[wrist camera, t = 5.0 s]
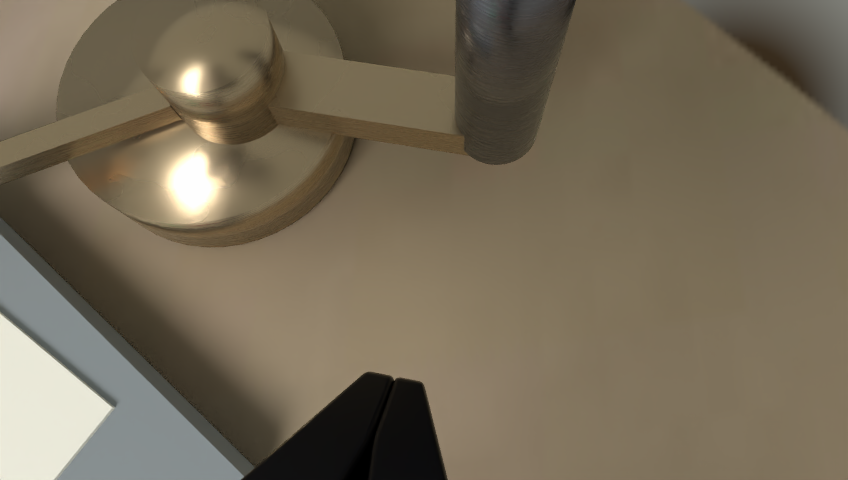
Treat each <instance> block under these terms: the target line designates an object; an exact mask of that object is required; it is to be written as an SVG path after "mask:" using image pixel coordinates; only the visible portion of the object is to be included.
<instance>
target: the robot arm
mask: <svg viewBox="0 0 848 480" xmlns="http://www.w3.org/2000/svg"><path fill="white" fill-rule="evenodd" d="M241 480H448V479H447V475H446V471H445V467H444V463H443V459H442V455H441V451H440V447H439V443H438V439H437V435H436V431H435V427H434V423H433V419H432V415H431V411H430V407H429V402H428V398H427V394H426V390H425V387H424V385H423V383H422V382H420V381H415V380H410V379H405V378H396V379H395V381H394V379H393V377H392V376H390V375H385V374H379V373H374V372H366V373H364V374H363V375H362V376H361V377H359V378H358V379H357V380H356V381H355V382H354V383H352V384H351V385H350V386H349V387H348V388H347V389H345V390H344V391H343V392H342V393H341V394H340V395H338V396H337V397H336V398H335V399H334V400H333V401H332V402H330V403H329V404H328V405H327V406H326V407H325V408H323V409H322V410H321V411H320V412H319V413H318V414H316V415H315V416H314V417H313V418H312V419H311V420H309V421H308V422H307V423H306V424H305V425H304V426H302V427H301V428H300V429H299V430H298V431H297V432H296V433H294V434H293V435H292V436H291V437H290V438H289V439H287V440H286V441H285V442H284V443H283V444H282V445H280V446H279V447H278V448H277V449H276V450H275V451H273V452H272V453H271V454H270V455H269V456H268V457H266V458H265V459H264V460H263V461H262V462H261V463H260V464H258V465H257V466H256V467H255V468H254V469H253V470H251V471H250V472H249V473H248V474H247V475H246V476H244V477H243V478H242V479H241Z"/></svg>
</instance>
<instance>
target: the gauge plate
mask: <svg viewBox="0 0 848 480" xmlns="http://www.w3.org/2000/svg"><path fill="white" fill-rule="evenodd" d="M254 468H255V467H254V466H253V465H252V464H251V463H250V462H249V461H248V460H247V459H246V458H245V457H244V456H243V455H242V454H241V453H240V452H239V451H238V450H237V449H236V448H235V447H234V446H233V445H232V444H230V443H229V442H228V441H227V440H226V439H225V438H224V437H223V436H222V435H221V434H220V433H219V432H218V431H217V430H216V429H215V428H214V427H213V426H212V425H211V424H210V423H209V422H208V421H207V420H206V419H205V418H204V417H203V416H202V415H201V414H200V413H199V412H198V411H197V410H196V409H195V408H194V407H193V406H192V405H191V404H190V403H189V402H188V401H187V400H186V399H185V398H184V397H183V396H182V395H181V394H180V393H179V392H178V391H177V390H176V389H175V388H174V387H173V386H171V385H170V384H169V383H168V382H167V381H166V380H165V379H164V378H163V377H162V376H161V375H160V374H159V373H158V372H157V371H156V370H155V369H154V368H153V367H152V366H151V365H150V364H149V363H148V362H147V361H146V360H145V359H144V358H143V357H142V356H141V355H140V354H139V353H138V352H137V351H136V350H135V349H134V348H133V347H132V346H131V345H130V344H129V343H128V342H127V341H126V340H125V339H124V338H123V337H122V336H121V335H120V334H119V333H118V332H117V331H116V330H115V329H114V328H113V327H111V326H110V325H109V324H108V323H107V322H106V321H105V320H104V319H103V318H102V317H101V316H100V315H99V314H98V313H97V312H96V311H95V310H94V309H93V308H92V307H91V306H90V305H89V304H88V303H87V302H86V301H85V300H84V299H83V298H82V297H81V296H80V295H79V294H78V293H77V292H76V291H75V290H74V289H73V288H72V287H71V286H70V285H69V284H68V283H67V282H66V281H65V280H64V279H63V278H62V277H61V276H60V275H59V274H58V273H57V272H56V271H55V270H54V269H52V268H51V267H50V266H49V265H48V264H47V263H46V262H45V261H44V260H43V259H42V258H41V257H40V256H39V255H38V254H37V253H36V252H35V251H34V250H33V249H32V248H31V247H30V246H29V245H28V244H27V243H26V242H25V241H24V240H23V239H22V238H21V237H20V236H19V235H18V234H17V233H16V232H15V231H14V230H13V229H12V228H11V227H10V226H9V225H8V224H7V223H6V222H5V221H4V220H3V219H2V218H1V217H0V480H241V479H242V478H243V477H244V476H246V475H247V474H248V473H249V472H250V471H251V470H253V469H254Z"/></svg>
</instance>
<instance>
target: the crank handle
mask: <svg viewBox="0 0 848 480" xmlns="http://www.w3.org/2000/svg"><path fill="white" fill-rule="evenodd" d="M575 1H576V0H456V39H455V76H451V75H444V74H438V73H431V72H424V71H417V70H410V69H404V68H397V67H390V66H383V65H376V64H370V63H363V62H356V61H349V60H344V58H343V54H342V51H341V47H340V44H339V41H338V39H337V36H336V34H335V32H334V29H333V27H332V26H331V24H330V22H329V21H328V19H327V18H326V16H325V15H324V13H323V12H322V11H321V10H320V9H319V7H318V6H317V5H316V4H315V3H314V2H313V1H312V0H117V1H116V2H115V3H113V4H112V5H111V6H109V7H108V8H107V9H106V10H105V11H104V12H103V13H102V14H101V15H100V16H99V17H98V18H97V19H96V20H95V21H94V22H93V23H92V24H91V25H90V27H89V28H88V29H87V30H86V31H85V33H84V34H83V35H82V37H81V38H80V40H79V41H78V43H77V45H76V46H75V48H74V49H73V51H72V53H71V55H70V57H69V59H68V61H67V64H66V66H65V69H64V72H63V75H62V78H61V81H60V85H59V91H58V96H57V111H56V117H57V122H54V123H51V124H48V125H45V126H43V127H40V128H37V129H34V130H31V131H29V132H26V133H23V134H20V135H17V136H15V137H12V138H9V139H6V140H3V141H0V185H1V184H4V183H7V182H9V181H12V180H15V179H18V178H21V177H23V176H26V175H29V174H32V173H34V172H37V171H40V170H43V169H46V168H48V167H51V166H54V165H57V164H59V163H62V162H65V161H68V162H69V164H70V165H71V167H72V168H73V170H74V171H75V173H76V174H77V176H78V177H79V178H80V179H81V181H82V182H83V183H84V184H85V185H86V186H87V187H88V188H89V189H90V190H91V191H92V192H93V193H94V194H96V195H97V196H98V197H99V198H101V199H102V200H103V201H105V202H106V203H108V204H109V205H111V206H112V207H114V208H115V209H117V210H118V211H120V212H121V213H123V214H124V215H126V216H127V217H129V218H130V219H132V220H133V221H135V222H136V223H138V224H139V225H141V226H143V227H144V228H146V229H148V230H149V231H151V232H153V233H154V234H156V235H159V236H161V237H163V238H166V239H168V240H171V241H174V242H178V243H182V244H186V245H192V246H201V247H226V246H233V245H240V244H244V243H248V242H252V241H255V240H259V239H262V238H264V237H267V236H269V235H272V234H274V233H276V232H278V231H280V230H282V229H284V228H286V227H287V226H289V225H291V224H293V223H294V222H295V221H297V220H298V219H300V218H301V217H302V216H304V215H305V214H307V213H308V212H309V211H310V210H311V209H312V208H313V207H314V206H315V205H316V204H318V203H319V202H320V201H321V200H322V198H323V197H324V196H325V195H326V194H327V192H328V191H329V190H330V189H331V188H332V186H333V185H334V183H335V182H336V180H337V179H338V177H339V175H340V174H341V172H342V170H343V168H344V166H345V164H346V162H347V160H348V157H349V154H350V151H351V148H352V145H353V141H354V137H355V138H362V139H368V140H374V141H380V142H387V143H393V144H399V145H406V146H412V147H418V148H425V149H431V150H437V151H443V152H450V153H456V154H462V155H469V156H471V157H472V158H474V159H476V160H478V161H480V162H483V163H487V164H494V165H499V164H506V163H510V162H513V161H515V160H517V159H519V158H521V157H522V156H523V155H525V154H526V153H527V152H528V151H529V150H530V148H531V147H532V145H533V144H534V142H535V139H536V136H537V133H538V129H539V126H540V122H541V119H542V115H543V112H544V108H545V105H546V101H547V98H548V95H549V91H550V88H551V84H552V81H553V77H554V74H555V70H556V67H557V63H558V60H559V57H560V53H561V50H562V46H563V43H564V39H565V36H566V32H567V29H568V25H569V22H570V19H571V15H572V12H573V8H574V5H575Z"/></svg>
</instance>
